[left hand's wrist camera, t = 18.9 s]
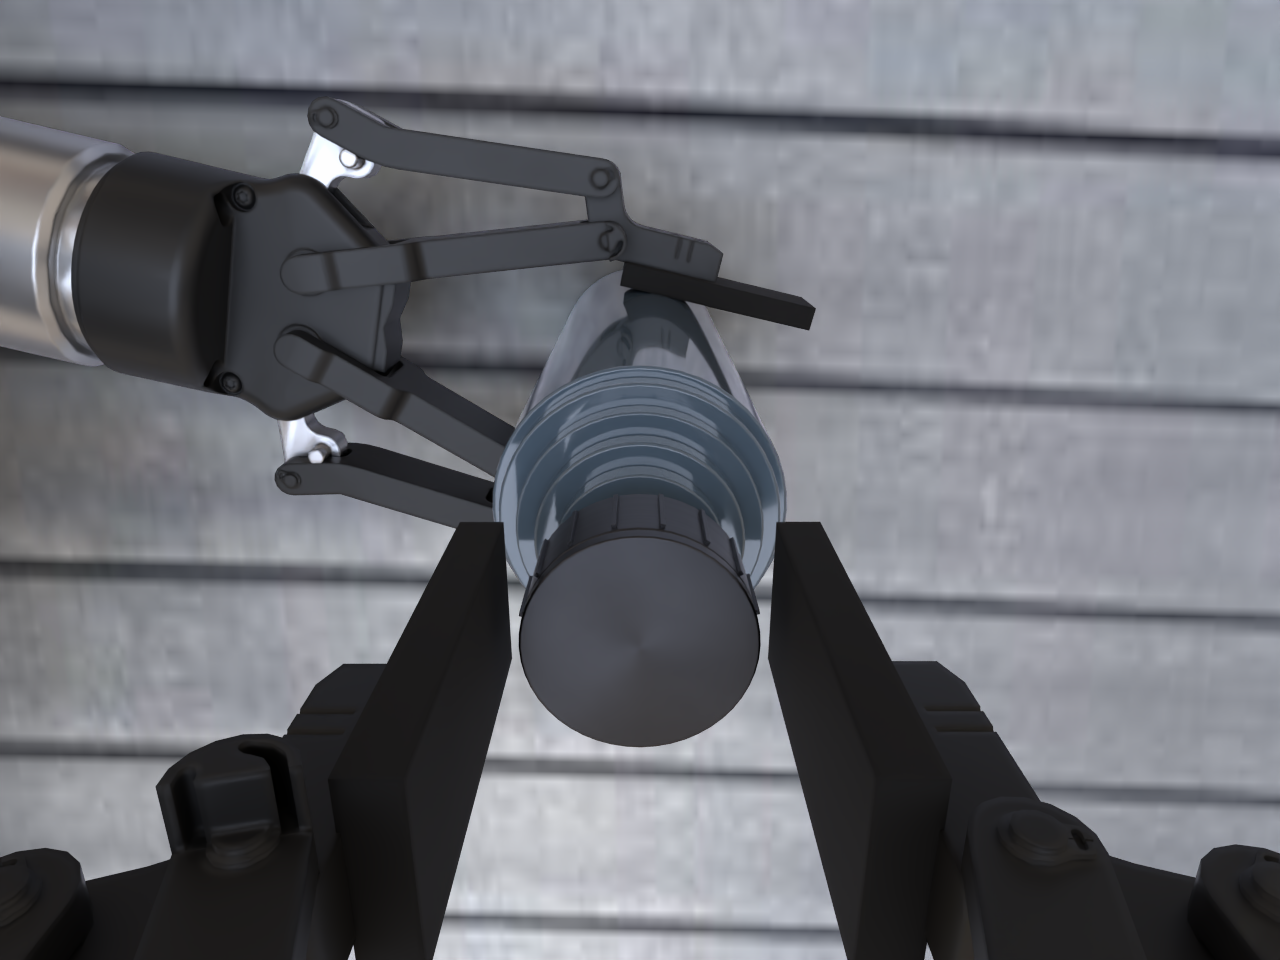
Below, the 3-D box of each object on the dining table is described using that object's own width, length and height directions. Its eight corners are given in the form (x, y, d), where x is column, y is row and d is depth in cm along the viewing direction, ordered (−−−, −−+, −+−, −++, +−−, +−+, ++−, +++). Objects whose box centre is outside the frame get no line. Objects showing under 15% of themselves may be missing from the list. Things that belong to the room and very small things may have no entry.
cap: (779, 642, 15) (796, 702, 13) (585, 713, 16) (578, 779, 14) (700, 457, 14) (709, 497, 12) (493, 540, 14) (474, 589, 13)
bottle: (562, 267, 35) (424, 438, 13) (716, 267, 35) (854, 436, 13) (567, 416, 37) (457, 787, 15) (712, 415, 37) (822, 786, 15)
